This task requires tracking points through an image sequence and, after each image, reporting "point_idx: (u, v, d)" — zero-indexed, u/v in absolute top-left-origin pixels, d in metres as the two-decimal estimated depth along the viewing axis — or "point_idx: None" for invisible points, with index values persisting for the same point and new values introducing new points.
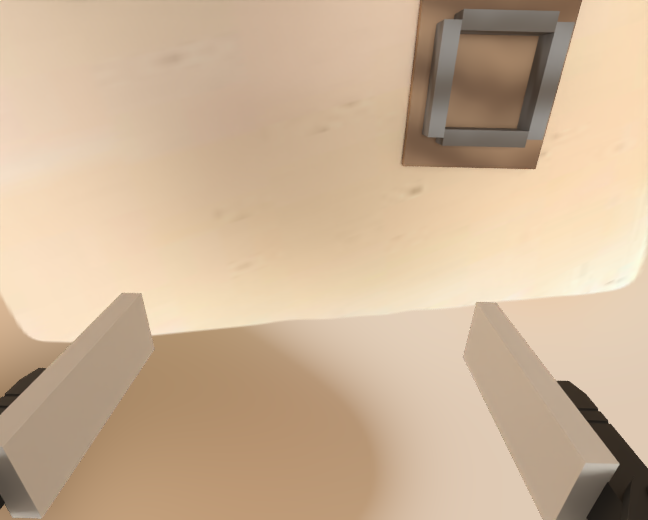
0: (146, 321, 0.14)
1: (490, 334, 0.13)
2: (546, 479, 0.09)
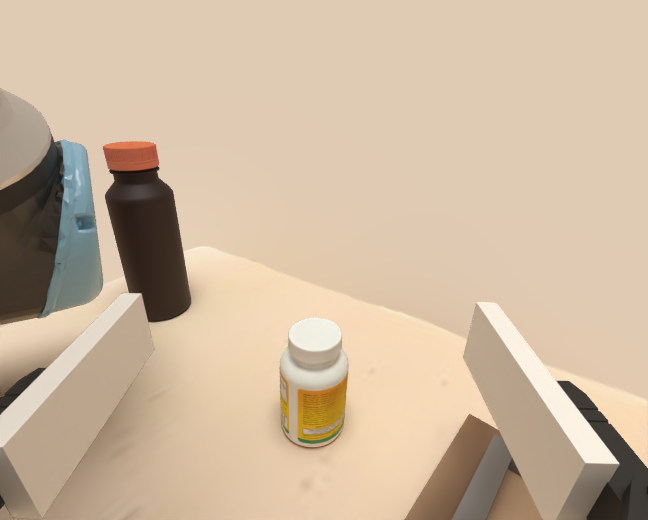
0: (147, 321, 0.14)
1: (490, 334, 0.13)
2: (546, 479, 0.09)
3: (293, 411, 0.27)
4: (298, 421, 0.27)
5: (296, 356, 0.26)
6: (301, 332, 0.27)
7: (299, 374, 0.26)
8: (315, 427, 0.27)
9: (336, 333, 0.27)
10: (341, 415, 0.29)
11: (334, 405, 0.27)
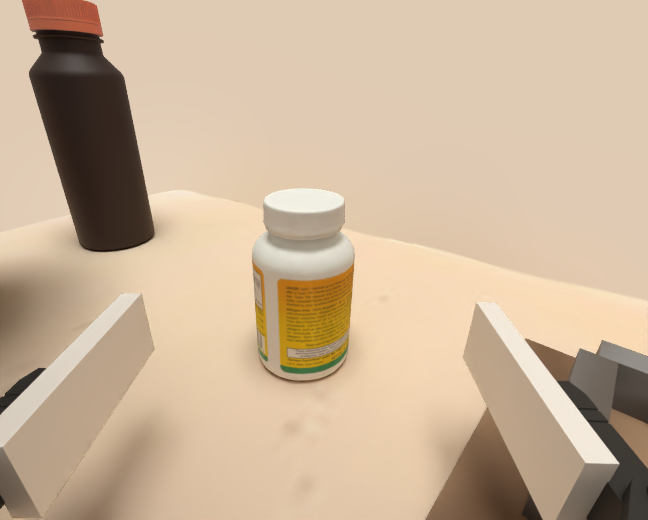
0: (146, 321, 0.14)
1: (490, 334, 0.13)
2: (546, 479, 0.09)
3: (273, 321, 0.18)
4: (280, 336, 0.18)
5: (275, 227, 0.17)
6: (283, 198, 0.18)
7: (281, 255, 0.17)
8: (306, 345, 0.18)
9: (337, 199, 0.18)
10: (344, 333, 0.20)
11: (333, 311, 0.18)
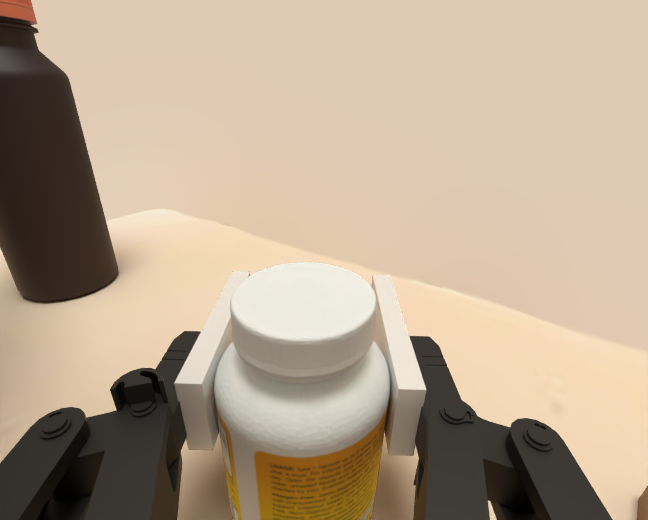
0: None
1: (376, 300, 0.14)
2: (388, 411, 0.11)
3: (250, 503, 0.10)
4: None
5: (248, 357, 0.09)
6: (267, 292, 0.10)
7: (260, 408, 0.09)
8: None
9: (362, 294, 0.10)
10: (371, 500, 0.12)
11: (356, 488, 0.10)
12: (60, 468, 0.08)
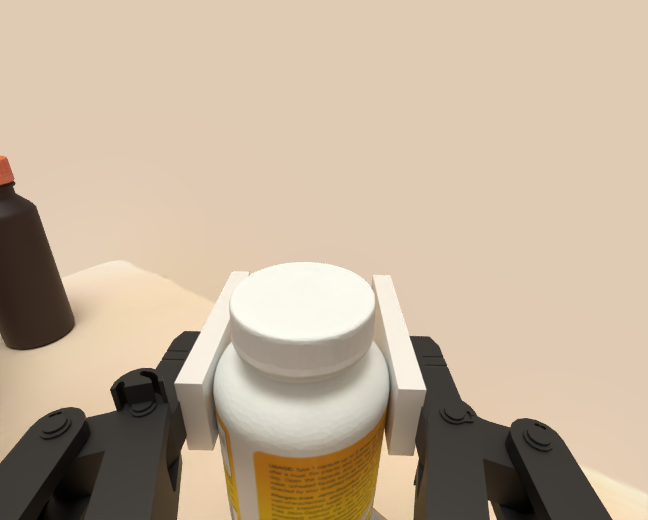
0: None
1: (376, 300, 0.14)
2: (388, 411, 0.11)
3: (249, 503, 0.10)
4: None
5: (248, 357, 0.09)
6: (266, 292, 0.10)
7: (259, 408, 0.09)
8: None
9: (361, 294, 0.10)
10: (370, 501, 0.12)
11: (355, 487, 0.10)
12: (60, 468, 0.08)
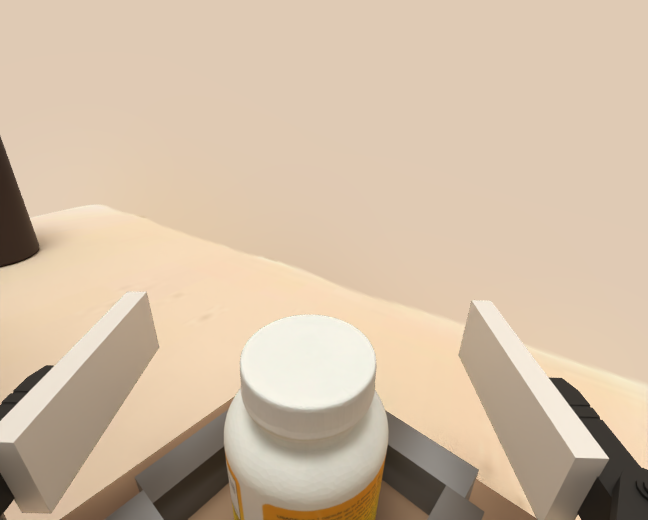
0: (151, 320, 0.14)
1: (484, 332, 0.13)
2: (538, 474, 0.09)
3: None
4: None
5: (258, 418, 0.10)
6: (274, 351, 0.11)
7: (268, 464, 0.10)
8: None
9: (363, 354, 0.11)
10: None
11: None
12: None
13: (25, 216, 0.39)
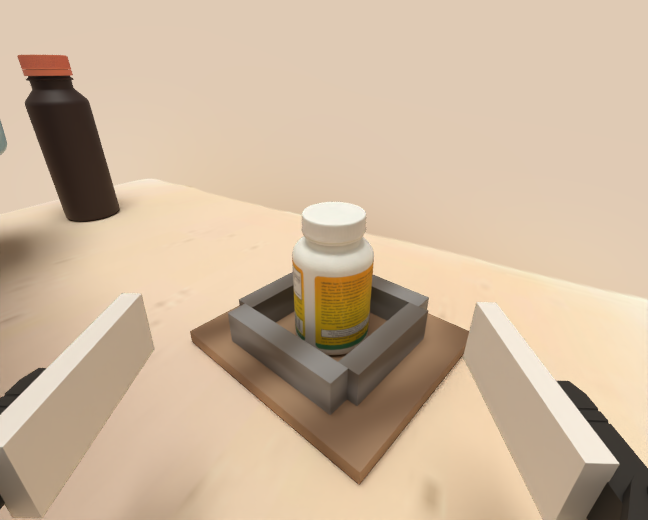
0: (146, 321, 0.14)
1: (490, 334, 0.13)
2: (546, 479, 0.09)
3: (310, 309, 0.23)
4: (315, 320, 0.23)
5: (312, 236, 0.21)
6: (317, 212, 0.22)
7: (317, 258, 0.21)
8: (336, 327, 0.23)
9: (359, 212, 0.22)
10: (366, 317, 0.24)
11: (358, 300, 0.23)
12: None
13: (111, 182, 0.51)
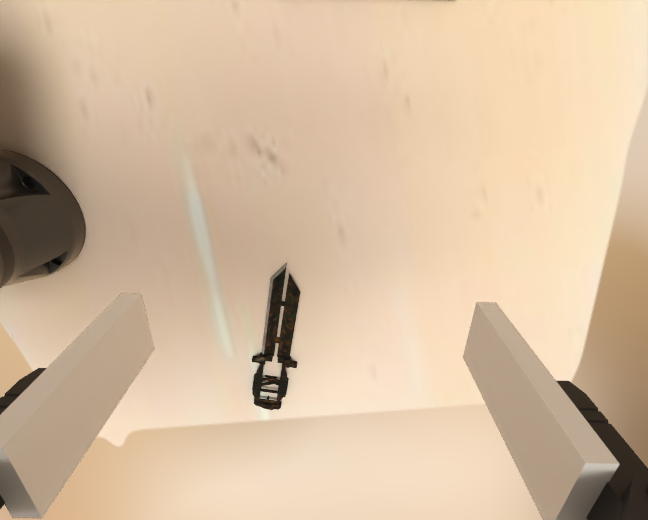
0: (146, 321, 0.14)
1: (490, 334, 0.13)
2: (546, 479, 0.09)
3: None
4: None
5: None
6: None
7: None
8: None
9: None
10: None
11: None
12: None
13: None
